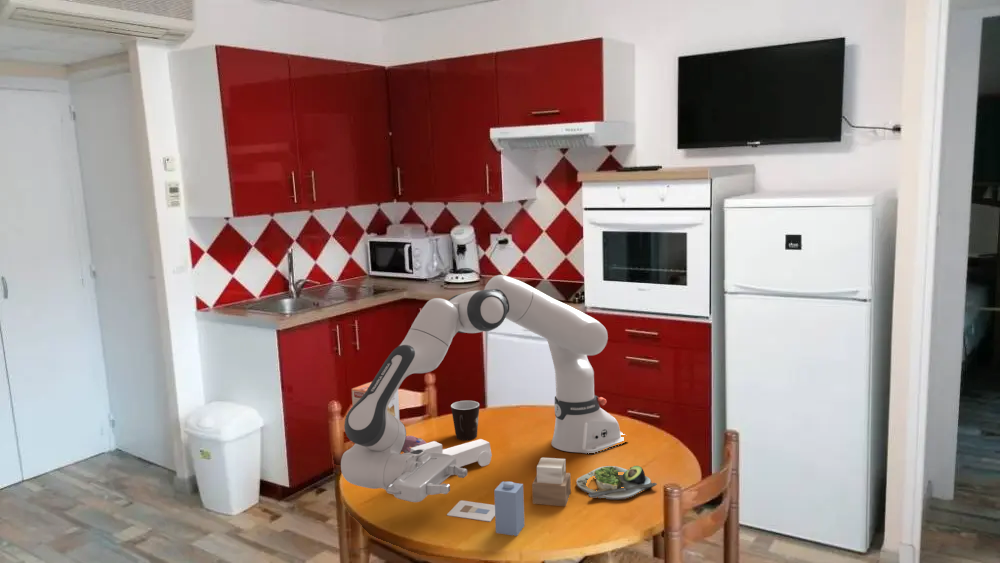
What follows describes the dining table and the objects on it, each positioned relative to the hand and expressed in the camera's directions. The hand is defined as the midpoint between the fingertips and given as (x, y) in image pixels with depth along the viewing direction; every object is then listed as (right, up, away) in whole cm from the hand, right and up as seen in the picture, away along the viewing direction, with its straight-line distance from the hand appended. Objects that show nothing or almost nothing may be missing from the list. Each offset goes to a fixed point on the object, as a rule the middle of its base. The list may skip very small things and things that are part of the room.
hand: (457, 481), depth 171 cm
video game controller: (-15, -4, +45) cm, 47 cm away
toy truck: (-4, -6, +31) cm, 32 cm away
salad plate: (+39, -7, +18) cm, 44 cm away
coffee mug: (-1, -2, +56) cm, 56 cm away
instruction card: (+4, -9, +7) cm, 12 cm away
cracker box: (-25, -4, +46) cm, 53 cm away
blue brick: (+12, -10, -3) cm, 16 cm away
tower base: (+22, -7, +13) cm, 27 cm away
